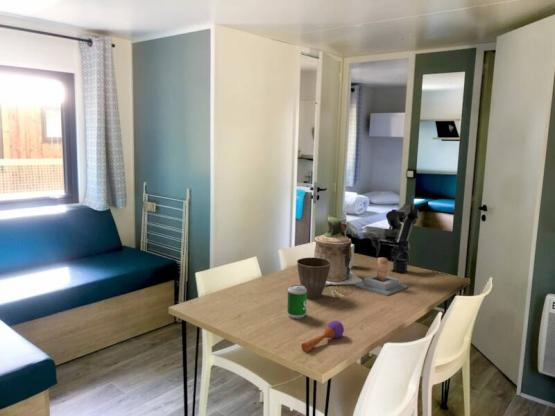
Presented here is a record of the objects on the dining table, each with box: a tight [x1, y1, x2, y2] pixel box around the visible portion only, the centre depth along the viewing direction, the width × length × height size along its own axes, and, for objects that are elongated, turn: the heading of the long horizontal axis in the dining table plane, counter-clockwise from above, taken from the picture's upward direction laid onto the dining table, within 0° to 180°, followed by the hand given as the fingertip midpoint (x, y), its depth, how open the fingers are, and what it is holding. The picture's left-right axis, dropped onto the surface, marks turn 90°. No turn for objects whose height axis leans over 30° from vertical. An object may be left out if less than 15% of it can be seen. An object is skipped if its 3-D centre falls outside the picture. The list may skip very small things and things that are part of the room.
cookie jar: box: [313, 215, 363, 286], centre depth 230 cm, size 25×25×32 cm
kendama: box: [301, 320, 345, 354], centre depth 158 cm, size 6×6×20 cm
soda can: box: [286, 284, 308, 320], centre depth 181 cm, size 8×8×12 cm
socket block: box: [354, 273, 408, 296], centre depth 219 cm, size 18×18×4 cm
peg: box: [376, 257, 388, 282], centre depth 218 cm, size 4×4×13 cm
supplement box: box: [349, 243, 355, 270], centre depth 252 cm, size 7×7×13 cm
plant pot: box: [296, 257, 331, 300], centre depth 203 cm, size 15×15×16 cm
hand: (385, 257), depth 222 cm, fingers open, 9 cm apart
